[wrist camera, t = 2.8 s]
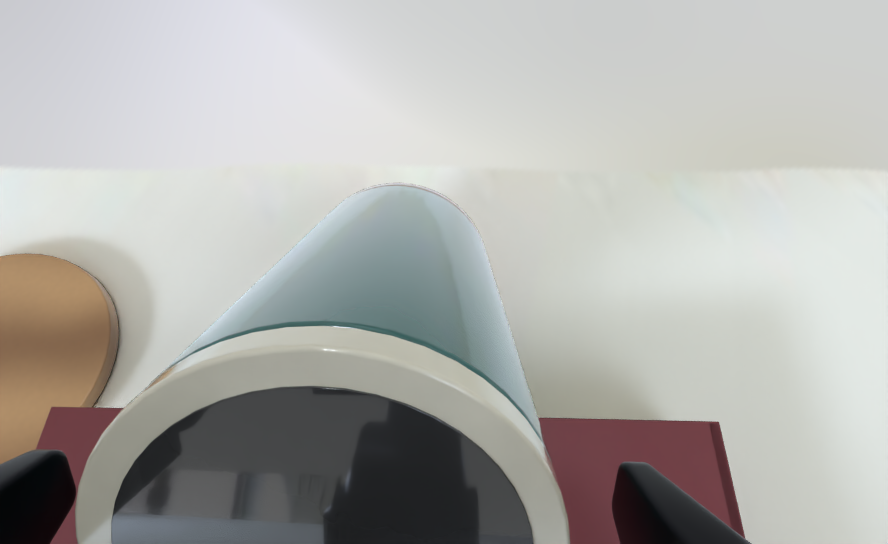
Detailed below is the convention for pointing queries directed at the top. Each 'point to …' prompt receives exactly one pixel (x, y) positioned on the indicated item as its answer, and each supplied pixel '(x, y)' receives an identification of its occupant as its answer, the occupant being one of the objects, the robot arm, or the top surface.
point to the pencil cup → (340, 403)
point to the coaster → (49, 344)
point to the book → (571, 451)
